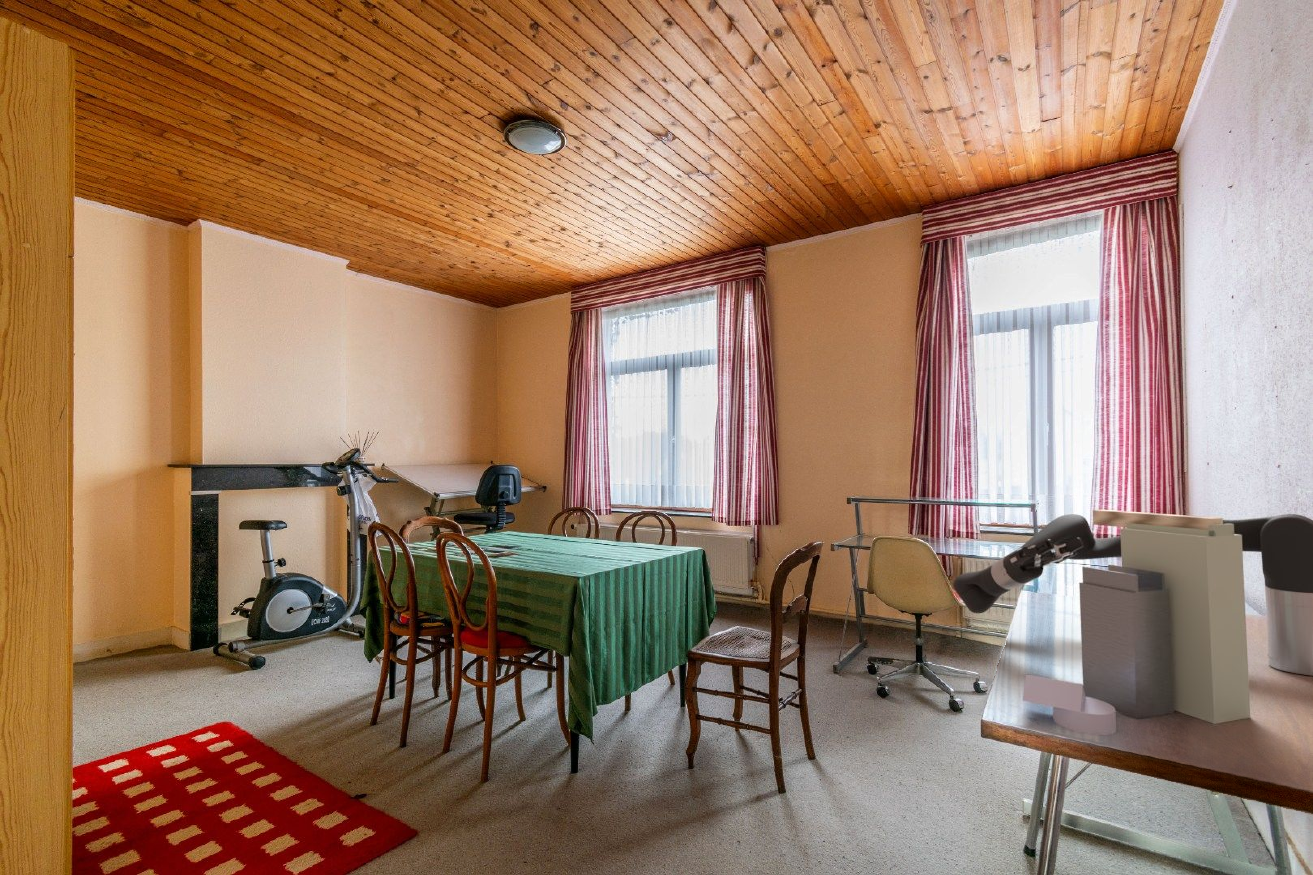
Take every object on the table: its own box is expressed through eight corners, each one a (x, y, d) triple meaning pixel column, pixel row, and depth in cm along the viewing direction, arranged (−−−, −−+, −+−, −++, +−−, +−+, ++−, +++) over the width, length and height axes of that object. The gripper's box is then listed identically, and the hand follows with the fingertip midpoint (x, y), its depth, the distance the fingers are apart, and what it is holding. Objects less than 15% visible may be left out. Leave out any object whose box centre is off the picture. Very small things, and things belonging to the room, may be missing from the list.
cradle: (1083, 698, 120) (1078, 566, 121) (1118, 693, 122) (1113, 564, 123) (1136, 719, 110) (1131, 575, 111) (1173, 712, 113) (1168, 572, 114)
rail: (1093, 524, 132) (1092, 510, 132) (1104, 523, 133) (1103, 509, 133) (1211, 535, 111) (1210, 518, 111) (1223, 534, 112) (1222, 518, 112)
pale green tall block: (1126, 693, 122) (1119, 518, 124) (1160, 688, 125) (1153, 516, 126) (1214, 723, 108) (1205, 525, 109) (1250, 717, 110) (1241, 523, 112)
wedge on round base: (1023, 719, 110) (1114, 739, 102) (1021, 681, 110) (1112, 697, 102) (1031, 704, 117) (1117, 721, 109) (1030, 667, 118) (1116, 682, 109)
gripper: (1046, 582, 153) (1099, 556, 140) (999, 586, 149) (1049, 559, 136) (1032, 553, 157) (1082, 525, 144) (985, 556, 153) (1033, 528, 140)
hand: (1066, 542), depth 140 cm, fingers open, 8 cm apart
